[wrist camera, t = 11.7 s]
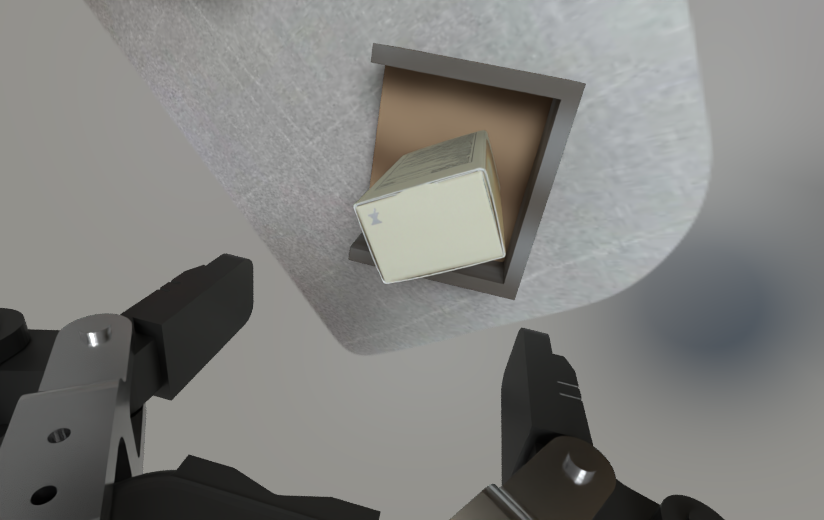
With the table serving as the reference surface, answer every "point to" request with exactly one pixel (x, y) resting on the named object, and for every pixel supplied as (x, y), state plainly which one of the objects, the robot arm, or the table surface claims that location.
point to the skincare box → (435, 211)
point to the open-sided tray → (467, 113)
